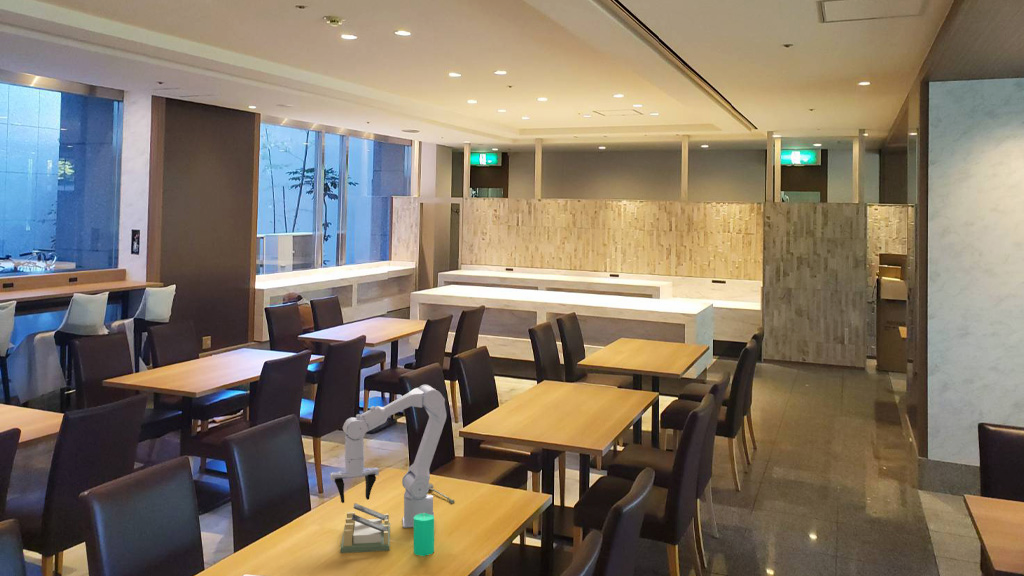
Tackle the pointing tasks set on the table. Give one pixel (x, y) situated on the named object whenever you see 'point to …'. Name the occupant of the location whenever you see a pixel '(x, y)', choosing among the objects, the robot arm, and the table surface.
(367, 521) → the strap near
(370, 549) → the board
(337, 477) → the robot arm
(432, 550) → the candle
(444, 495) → the soupspoon
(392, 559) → the table surface
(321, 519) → the table surface
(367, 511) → the strap far
